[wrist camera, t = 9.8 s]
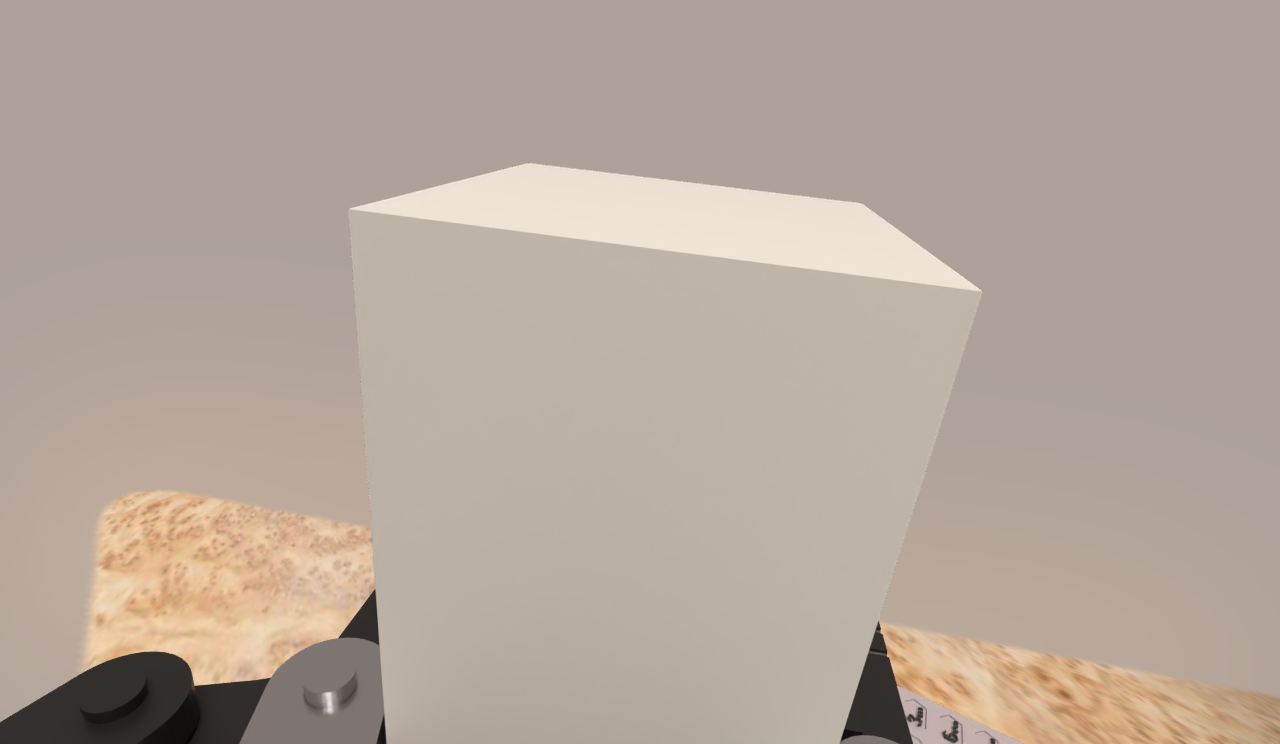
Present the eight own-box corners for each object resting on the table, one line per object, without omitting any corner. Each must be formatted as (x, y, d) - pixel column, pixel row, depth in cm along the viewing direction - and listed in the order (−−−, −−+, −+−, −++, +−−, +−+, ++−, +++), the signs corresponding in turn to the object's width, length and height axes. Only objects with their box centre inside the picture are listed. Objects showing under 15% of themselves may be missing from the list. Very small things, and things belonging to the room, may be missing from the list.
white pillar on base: (773, 837, 14) (953, 202, 9) (807, 1454, 8) (1556, 451, 2) (462, 774, 15) (458, 143, 9) (247, 1296, 8) (-143, 214, 3)
